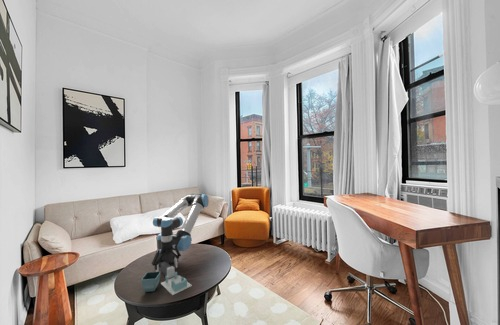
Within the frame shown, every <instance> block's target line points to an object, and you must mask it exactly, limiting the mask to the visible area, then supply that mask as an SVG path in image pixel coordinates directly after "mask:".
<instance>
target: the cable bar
mask: <svg viewBox="0 0 500 325" xmlns="http://www.w3.org/2000/svg"><path fill="white" fill-rule="evenodd" d="M175 270H176V267H175V266H174V265H171V264H168V263H167V262H166V261H165V262H162V263H161V266H160V272H161V273H163V275H164V276H168V279H171V278H174V277H175V272H176V271H175Z"/></svg>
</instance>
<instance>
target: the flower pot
mask: <svg viewBox="0 0 500 325" xmlns="http://www.w3.org/2000/svg"><path fill="white" fill-rule="evenodd" d="M161 273H162V272H161V271H159V272H156V271H147V272H145V274H144V276H142V278H141V280H140V281H141V285H142V289H143V291H145V293H149V292H150V293H151V292H152V293H153V292H155V291H156V289H157V288H158V287H159V283H160V280H161Z"/></svg>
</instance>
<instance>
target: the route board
mask: <svg viewBox="0 0 500 325" xmlns="http://www.w3.org/2000/svg"><path fill="white" fill-rule="evenodd" d="M164 276H165V277H164V278H165V280H164V281H163V282H160V285H161V286H162V287H163V288H164V289H166V291H167V292H168V293H169V294H170V295H171V296H174V295H176V294H178V293H180V292H182V291H184V290H186V289H188V288H191V287H192V286H193V285H192V284H191V283H190V282H188V279H187V278H185V277H184V276H181V275H179V274H178V271H175V276H174V277H172V278H168V276H166V275H164Z"/></svg>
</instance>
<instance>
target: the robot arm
mask: <svg viewBox="0 0 500 325" xmlns="http://www.w3.org/2000/svg"><path fill="white" fill-rule="evenodd" d="M208 206H209V196H208V195H207V194H205V193H201V194H200V193H189V194H186V195H185V196H182V197H181V198H180V199H179V201H178V202H177V203H175V204H174V205H173V206H172V207H171V208H169V209H167V211H166V212H164V213H163V214H162V215H161V216H155V217H153V220H152V225H153V226H154V227H156V228H157V227H158V228H160V230H161V231H160V233H159V234H158V235H157V237H156V245H157V246H156V247H157V249H156V250H155V252H156V253H155V255H154V256H153V259H152V261H151V265H152V266H154V270H155V272H160V270H159V268H160V267H161V263H162V262H165V261H166V262H167V263H168V264H170V265H171V264H174V267H175V269H177V268H178V263H179V259H180V257H181V256H182V255H181V252H186V251H187V250H188V249H190V247H191V245H192V239H193V238H192V235H191V233H192V231H193V229H194V226H195V225H196V222H197V220H198V218H199V216H200V213H201V211H203V210H204V209H205V208H207V207H208ZM188 207H191V208H190V209H189V212H188V214H187V216H186V218H185V220H184V219H183V218H182V217H180V216H178V215H179V213H181V212H182V211H183V210H184V209H187V208H188ZM179 228H180V229H179ZM175 229H178V230H177V231H176V233H174V232H173V230H175ZM174 251H175V252H174Z"/></svg>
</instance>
